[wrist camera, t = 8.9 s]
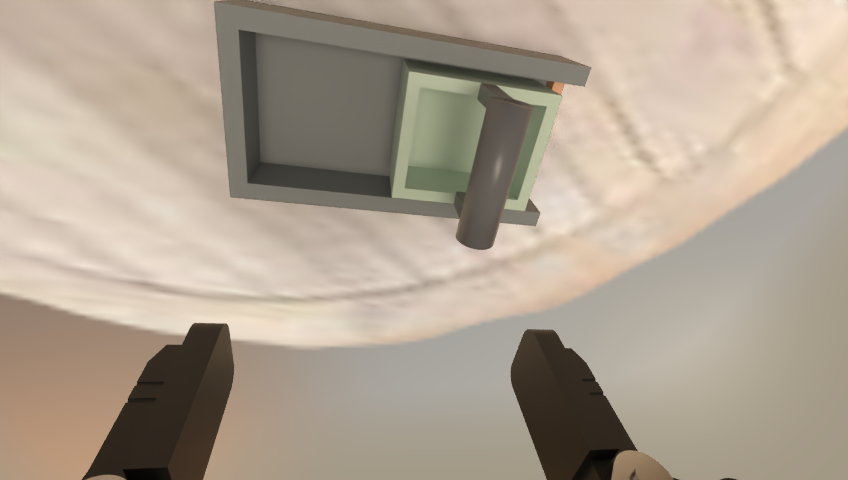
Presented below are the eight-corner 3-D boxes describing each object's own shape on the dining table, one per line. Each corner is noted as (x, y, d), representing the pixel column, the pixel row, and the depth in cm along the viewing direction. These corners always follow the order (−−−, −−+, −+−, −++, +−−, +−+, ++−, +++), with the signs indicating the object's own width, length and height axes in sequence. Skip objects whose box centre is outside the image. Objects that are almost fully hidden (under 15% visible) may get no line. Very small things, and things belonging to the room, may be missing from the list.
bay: (238, -2, 27) (214, 1, 23) (561, 56, 31) (591, 67, 27) (248, 169, 33) (230, 197, 29) (516, 198, 37) (535, 226, 33)
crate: (403, 58, 29) (419, 94, 19) (535, 80, 31) (608, 122, 21) (388, 170, 33) (396, 242, 24) (505, 183, 35) (555, 255, 26)
